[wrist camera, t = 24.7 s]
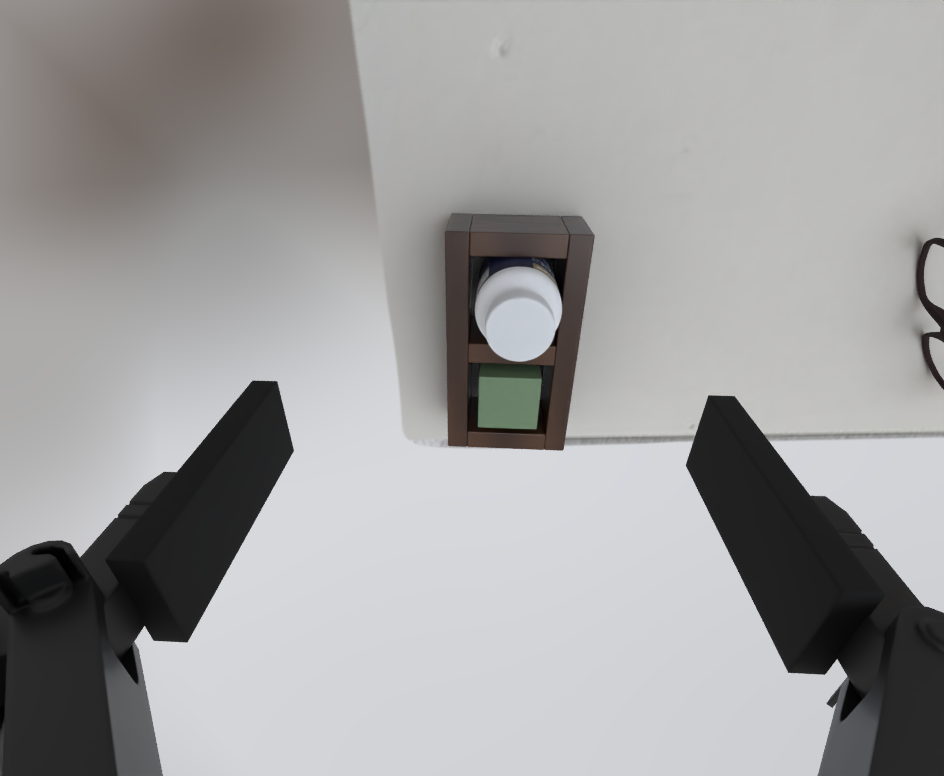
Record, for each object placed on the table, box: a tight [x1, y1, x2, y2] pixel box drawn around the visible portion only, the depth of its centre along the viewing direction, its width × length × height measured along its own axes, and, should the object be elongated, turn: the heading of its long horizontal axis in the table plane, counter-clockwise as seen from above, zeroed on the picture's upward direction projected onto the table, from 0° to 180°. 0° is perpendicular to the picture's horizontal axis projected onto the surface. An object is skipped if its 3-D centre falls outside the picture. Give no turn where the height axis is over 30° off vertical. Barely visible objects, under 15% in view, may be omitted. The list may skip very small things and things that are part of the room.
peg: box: [478, 363, 542, 429], centre depth 37 cm, size 4×4×6 cm
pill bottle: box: [475, 257, 562, 362], centre depth 31 cm, size 5×5×10 cm
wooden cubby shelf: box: [445, 214, 594, 450], centre depth 35 cm, size 9×16×5 cm, turn 179°
